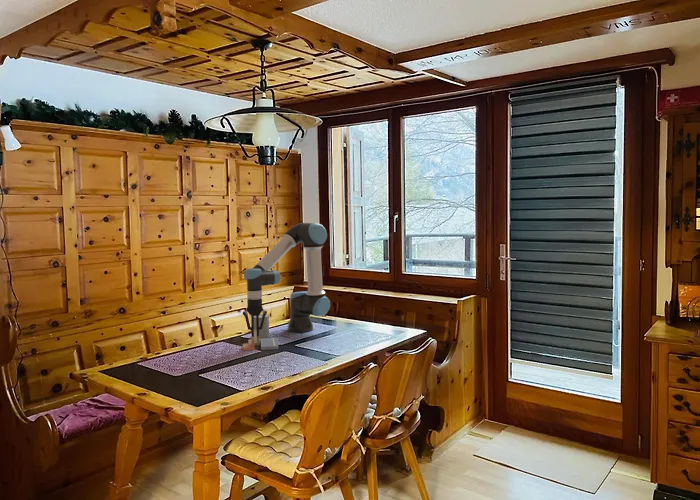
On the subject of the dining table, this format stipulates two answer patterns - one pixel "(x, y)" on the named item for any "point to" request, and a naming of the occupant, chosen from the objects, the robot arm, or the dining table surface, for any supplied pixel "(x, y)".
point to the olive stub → (254, 343)
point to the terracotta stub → (249, 346)
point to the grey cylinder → (265, 329)
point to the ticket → (269, 343)
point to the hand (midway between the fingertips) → (255, 342)
